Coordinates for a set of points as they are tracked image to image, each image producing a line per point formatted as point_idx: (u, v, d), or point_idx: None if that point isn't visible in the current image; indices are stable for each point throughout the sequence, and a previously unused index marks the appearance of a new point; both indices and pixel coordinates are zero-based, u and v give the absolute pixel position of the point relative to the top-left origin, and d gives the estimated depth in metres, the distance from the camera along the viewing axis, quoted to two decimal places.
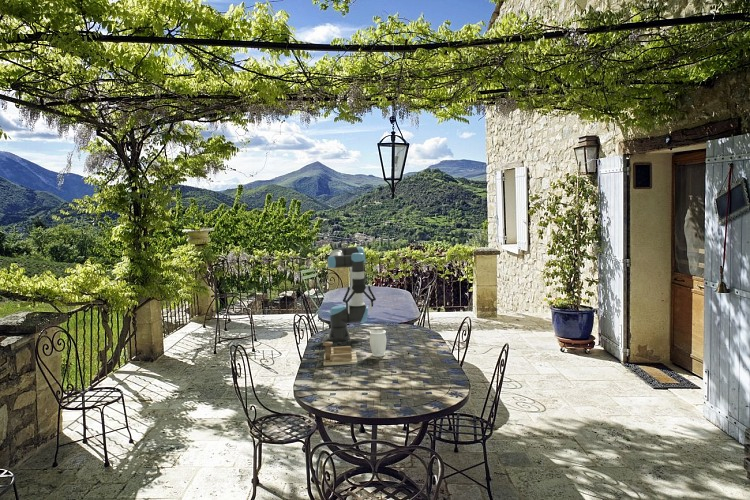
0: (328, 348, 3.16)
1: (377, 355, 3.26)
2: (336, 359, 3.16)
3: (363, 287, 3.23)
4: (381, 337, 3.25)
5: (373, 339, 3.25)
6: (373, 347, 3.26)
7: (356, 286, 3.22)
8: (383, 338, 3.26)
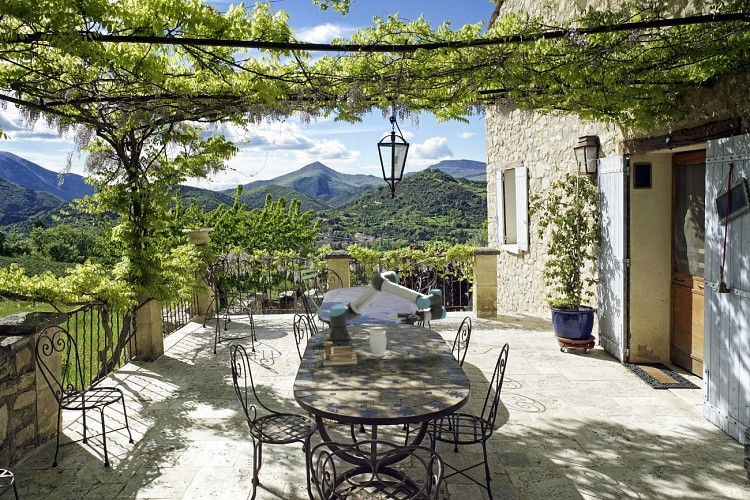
0: (328, 348, 3.16)
1: (377, 355, 3.26)
2: (336, 359, 3.16)
3: None
4: (381, 337, 3.25)
5: (373, 339, 3.25)
6: (373, 347, 3.26)
7: None
8: (383, 338, 3.26)
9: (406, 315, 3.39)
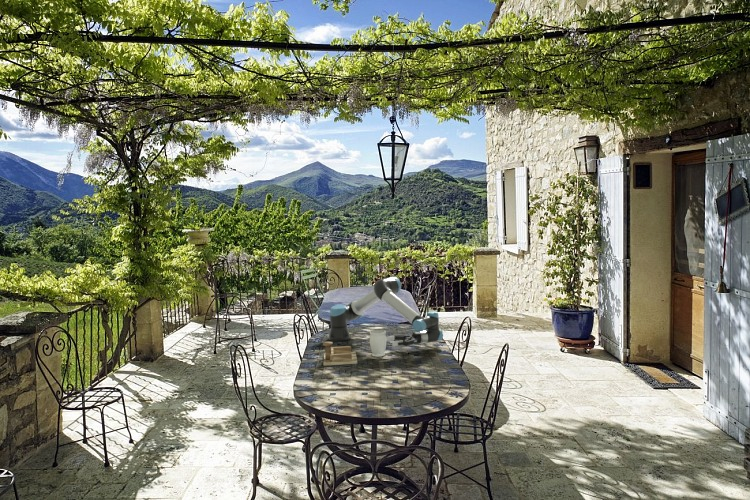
0: (328, 348, 3.16)
1: (377, 355, 3.26)
2: (336, 359, 3.16)
3: None
4: (381, 337, 3.25)
5: (373, 339, 3.25)
6: (373, 347, 3.26)
7: None
8: (383, 338, 3.26)
9: (403, 337, 3.38)
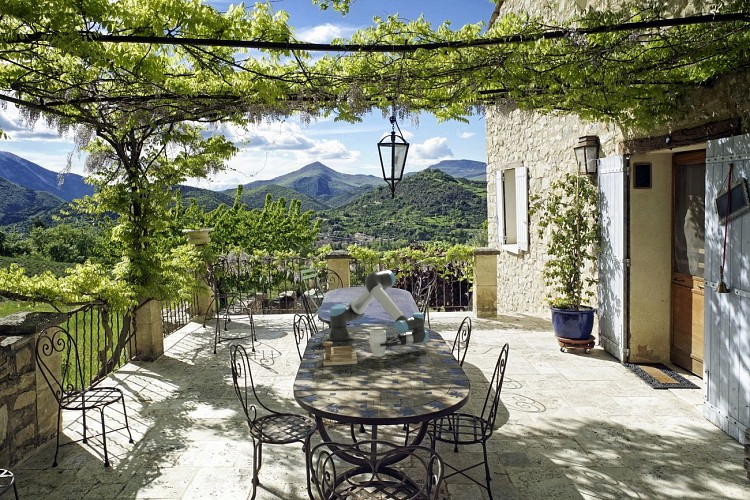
0: (328, 348, 3.16)
1: (377, 355, 3.26)
2: (336, 359, 3.16)
3: None
4: (381, 337, 3.25)
5: (373, 339, 3.25)
6: (373, 347, 3.26)
7: None
8: (383, 338, 3.26)
9: (388, 339, 3.35)
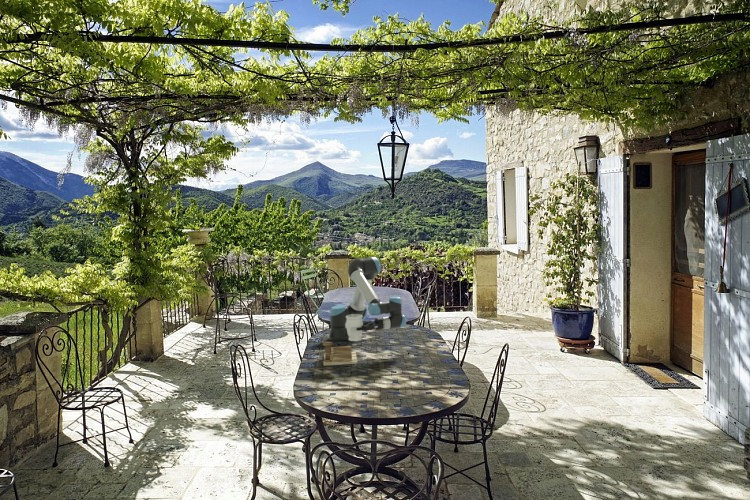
0: (328, 348, 3.16)
1: (353, 339, 3.21)
2: (336, 359, 3.16)
3: None
4: (357, 321, 3.19)
5: (349, 323, 3.20)
6: (349, 331, 3.20)
7: None
8: (360, 322, 3.20)
9: (365, 323, 3.30)
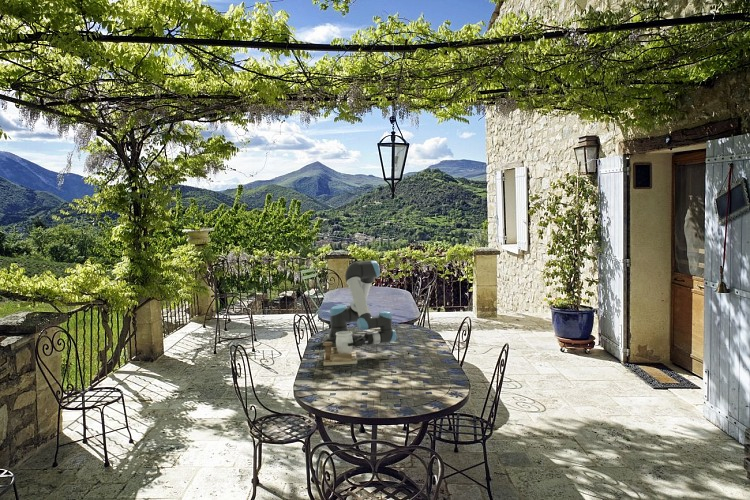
0: (328, 348, 3.16)
1: None
2: (336, 359, 3.16)
3: None
4: (347, 338, 3.20)
5: (339, 340, 3.20)
6: (339, 348, 3.21)
7: None
8: (349, 339, 3.21)
9: (355, 338, 3.31)
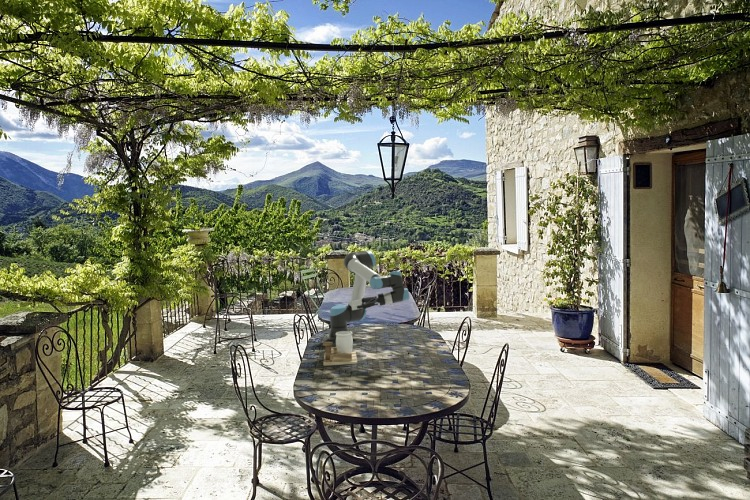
0: (328, 348, 3.16)
1: None
2: (336, 359, 3.16)
3: None
4: (347, 338, 3.20)
5: (339, 340, 3.20)
6: (339, 348, 3.21)
7: None
8: (349, 339, 3.21)
9: (369, 300, 3.37)
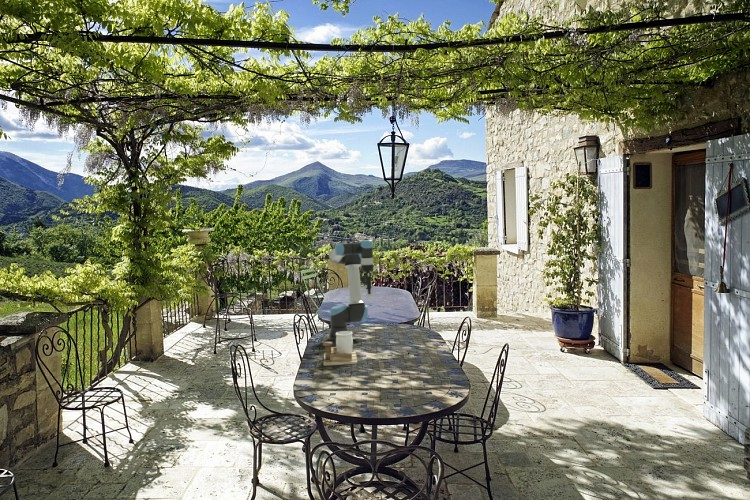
0: (328, 348, 3.16)
1: None
2: (336, 359, 3.16)
3: None
4: (347, 338, 3.20)
5: (339, 340, 3.20)
6: (339, 348, 3.21)
7: (369, 272, 3.36)
8: (349, 339, 3.21)
9: None
